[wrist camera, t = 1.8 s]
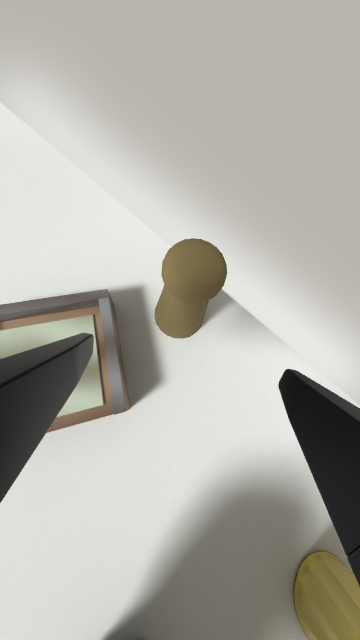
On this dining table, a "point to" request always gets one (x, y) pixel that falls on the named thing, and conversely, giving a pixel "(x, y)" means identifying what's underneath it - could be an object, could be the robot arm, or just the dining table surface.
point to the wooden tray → (65, 321)
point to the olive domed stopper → (188, 286)
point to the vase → (327, 599)
